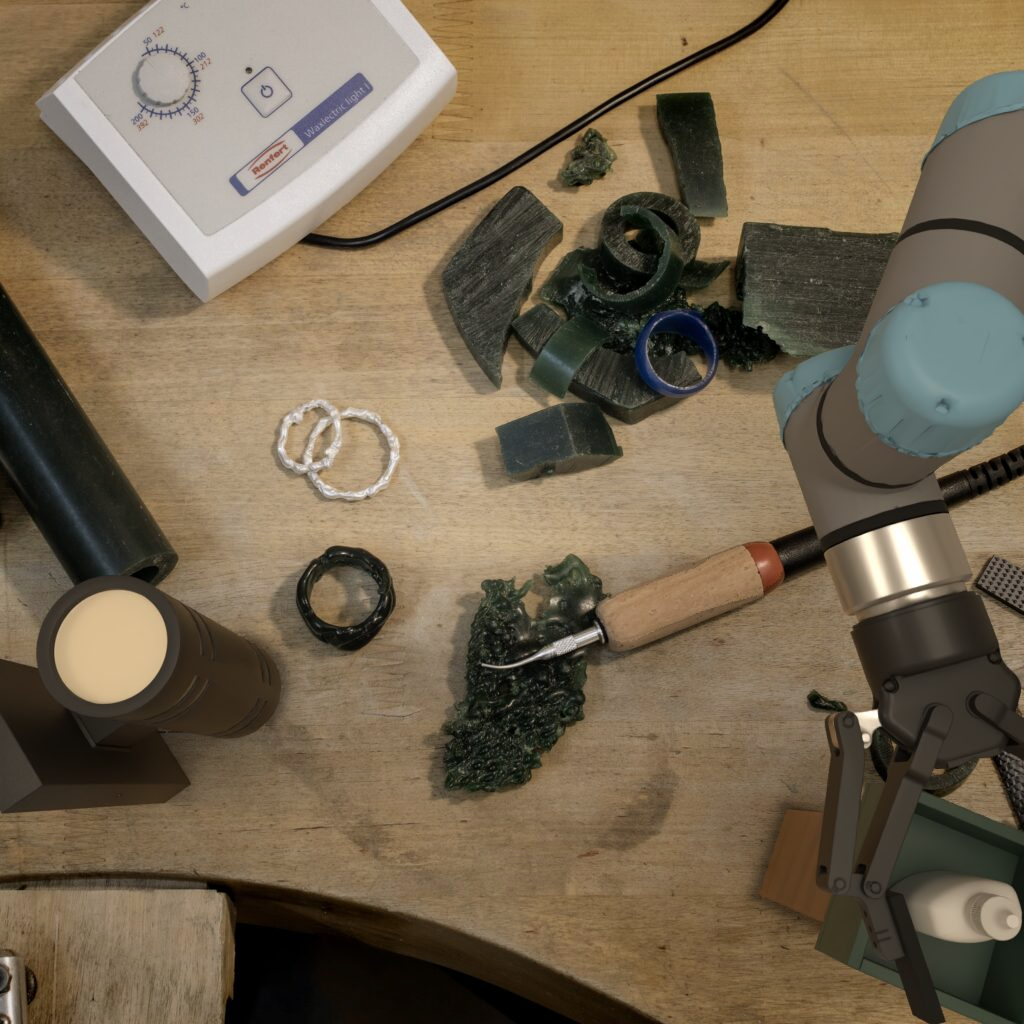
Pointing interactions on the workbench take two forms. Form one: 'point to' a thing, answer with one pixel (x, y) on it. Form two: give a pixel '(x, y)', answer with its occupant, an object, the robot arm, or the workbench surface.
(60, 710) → the light fixture
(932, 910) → the eye dropper bottle
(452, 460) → the workbench surface
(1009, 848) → the waste bin
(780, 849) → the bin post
